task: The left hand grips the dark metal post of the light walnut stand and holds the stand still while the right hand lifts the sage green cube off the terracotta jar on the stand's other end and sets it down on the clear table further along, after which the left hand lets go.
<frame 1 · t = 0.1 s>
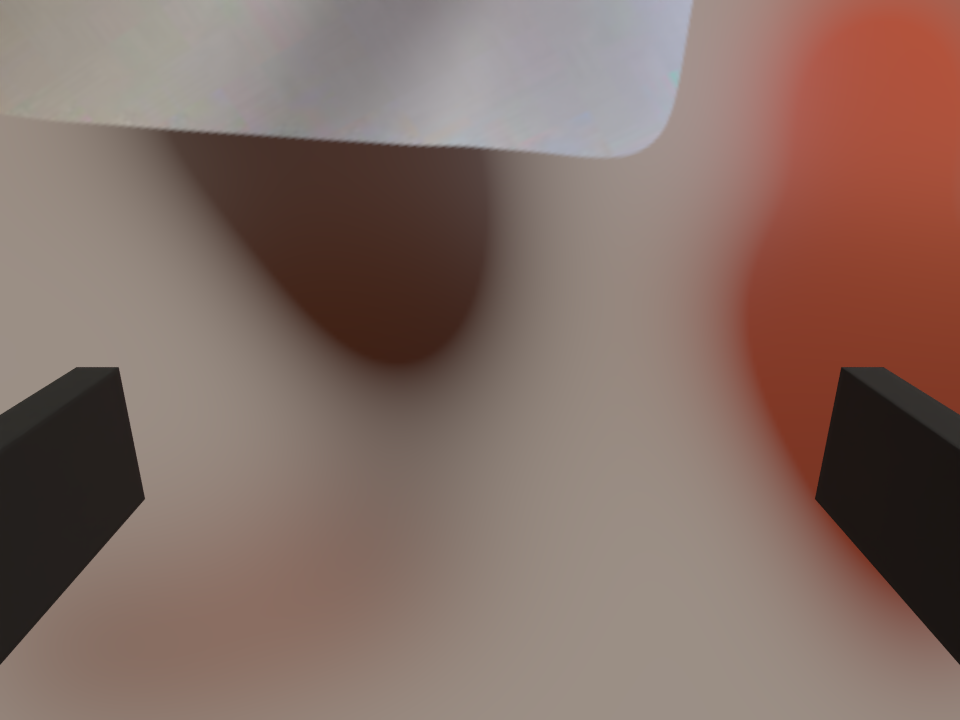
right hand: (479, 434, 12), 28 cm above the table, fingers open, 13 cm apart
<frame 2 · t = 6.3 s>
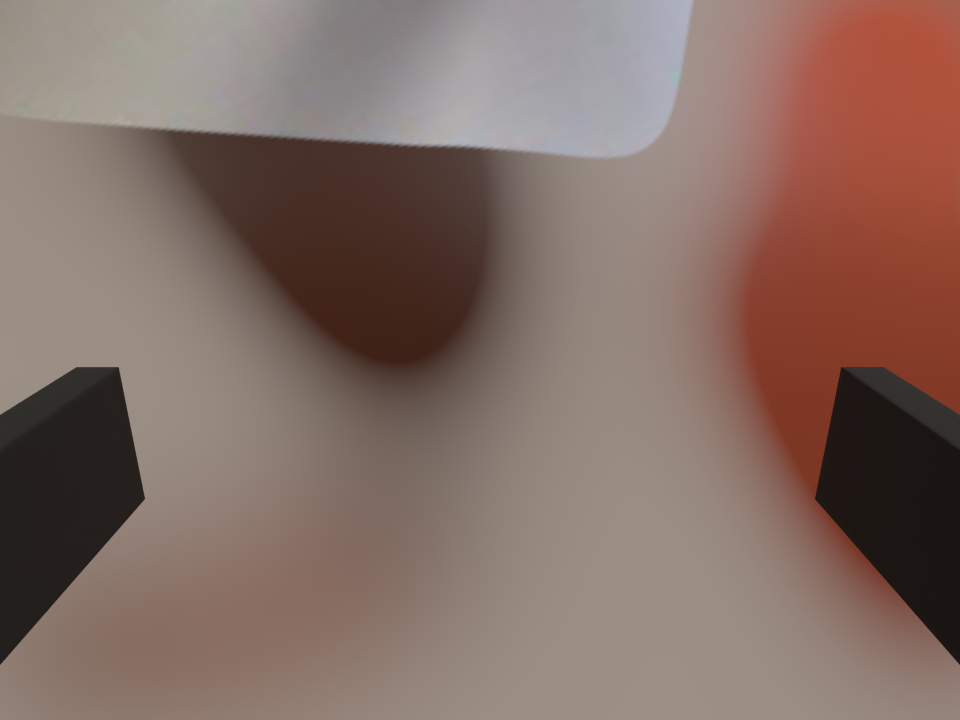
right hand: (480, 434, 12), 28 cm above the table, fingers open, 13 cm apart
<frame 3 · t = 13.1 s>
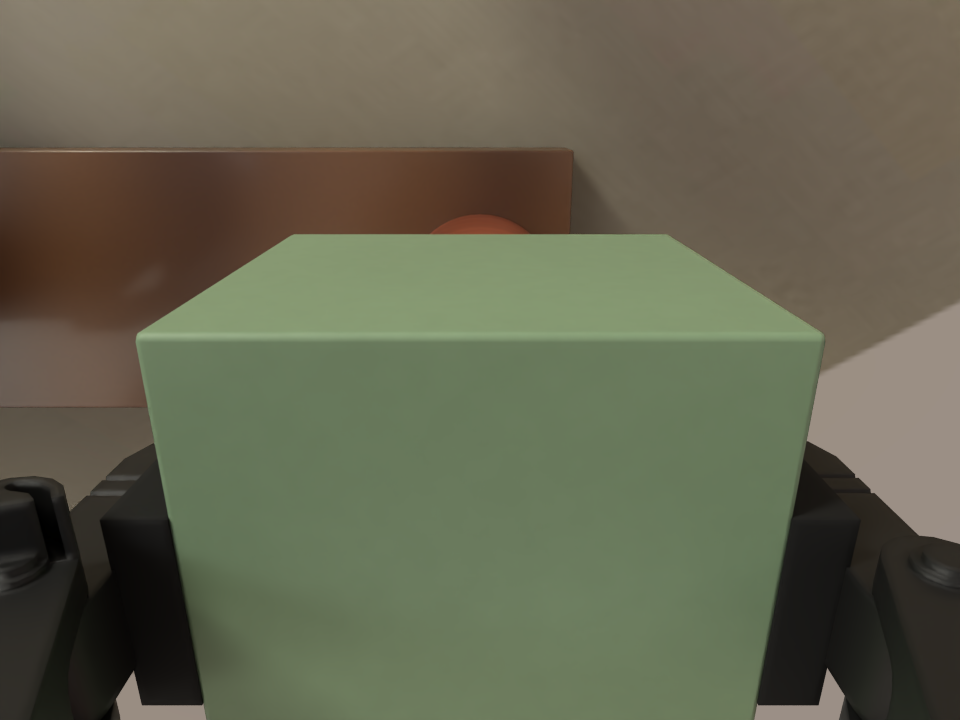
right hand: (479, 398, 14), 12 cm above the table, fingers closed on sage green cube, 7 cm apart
sage green cube: (480, 407, 13), point 12 cm above the table, touching right hand, stand
stand: (210, 274, 25), on the table, touching sage green cube, left hand
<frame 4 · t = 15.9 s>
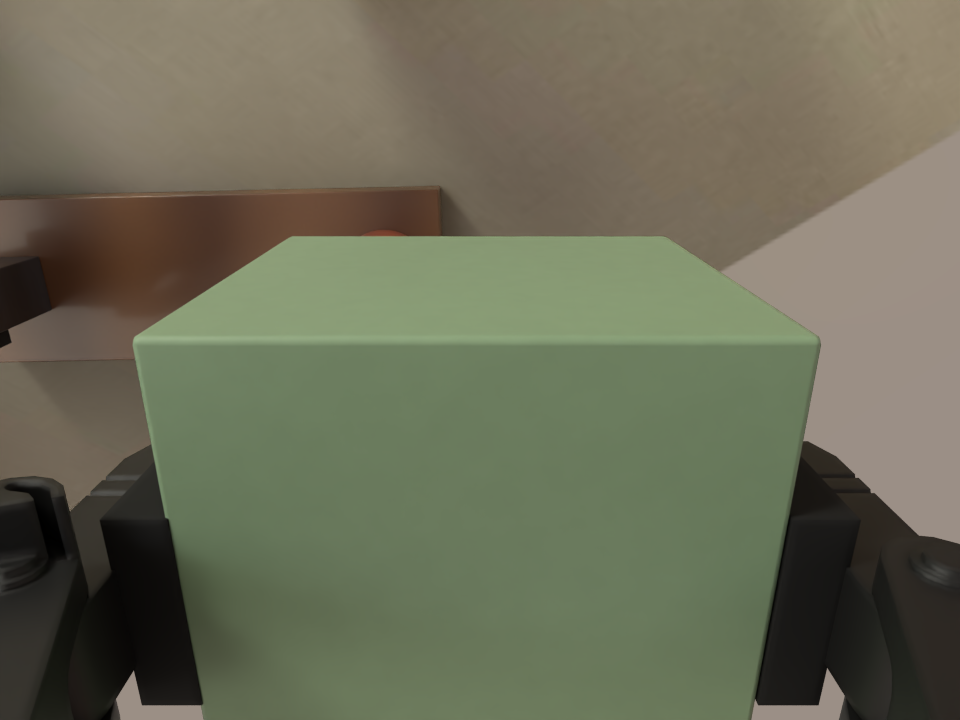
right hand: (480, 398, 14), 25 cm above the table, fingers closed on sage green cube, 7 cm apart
sage green cube: (478, 408, 14), point 25 cm above the table, touching right hand
stand: (215, 272, 38), on the table, touching left hand
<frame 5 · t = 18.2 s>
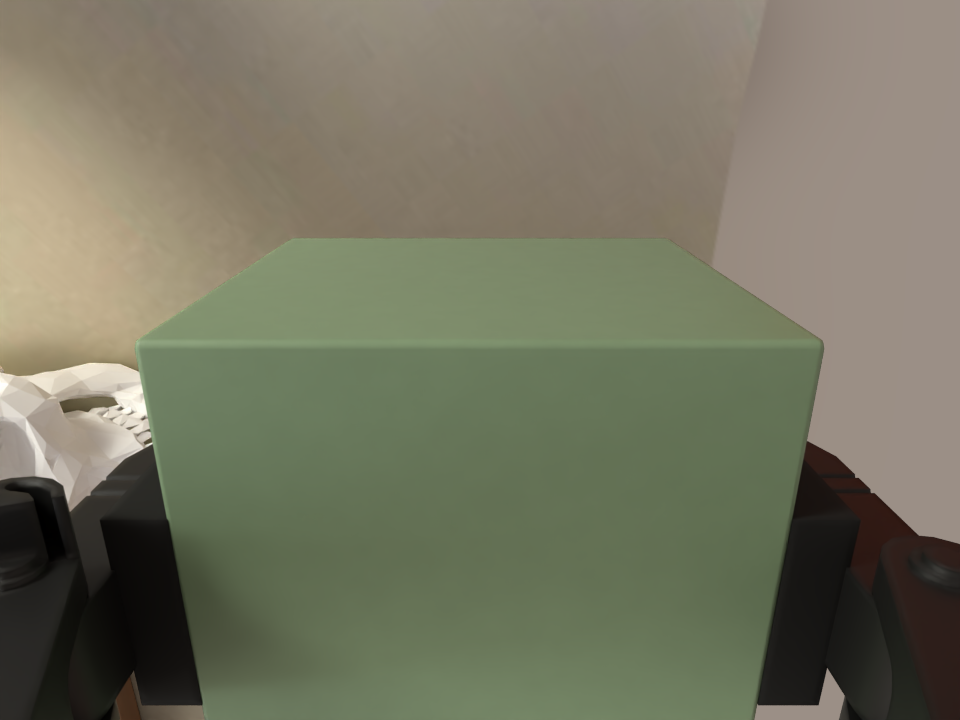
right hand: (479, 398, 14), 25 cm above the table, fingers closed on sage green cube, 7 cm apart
sage green cube: (479, 410, 13), point 25 cm above the table, touching right hand
skull: (66, 435, 42), on the table
when the right hand's fingers open (2 cm above the table, at t = 23.2 s): sage green cube drops 3 cm, on the table.
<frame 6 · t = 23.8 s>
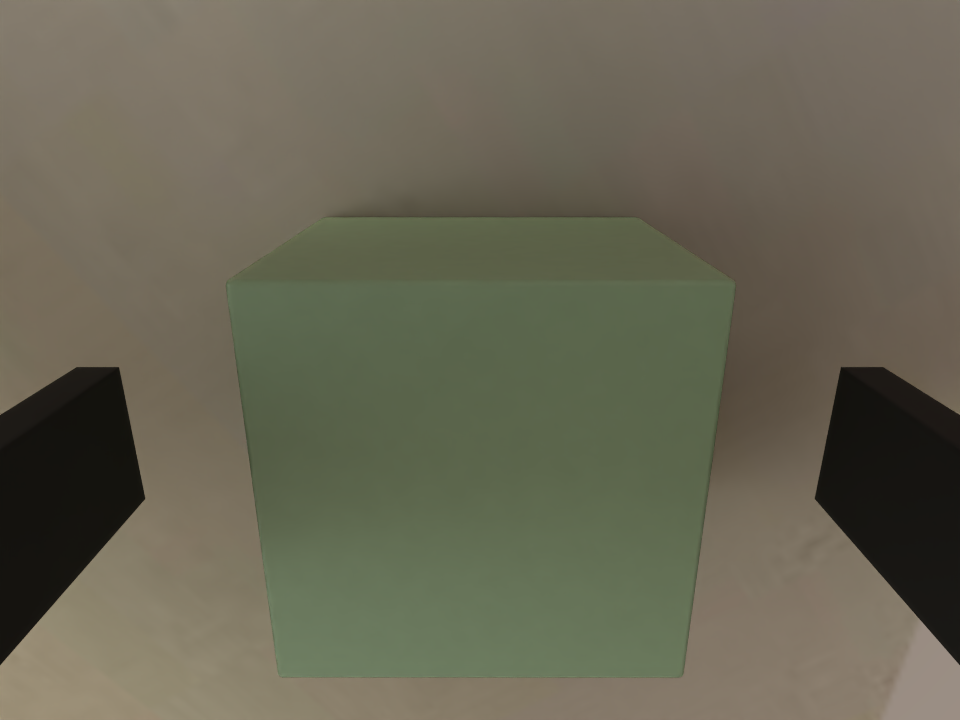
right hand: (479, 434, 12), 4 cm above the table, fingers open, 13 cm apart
sage green cube: (480, 365, 16), on the table
when the left hand's fingers open (6 cm above the table, at t = 25.7 s): stand stays where it is, on the table.
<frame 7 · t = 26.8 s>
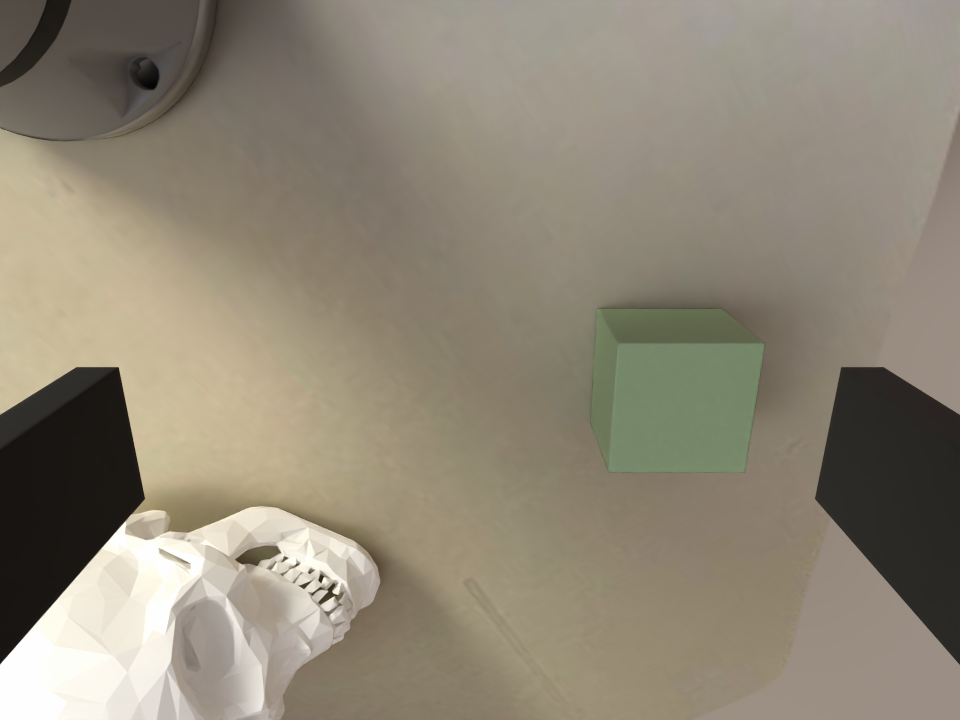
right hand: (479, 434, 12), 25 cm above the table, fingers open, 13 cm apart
sage green cube: (654, 367, 38), on the table
skull: (216, 569, 43), on the table
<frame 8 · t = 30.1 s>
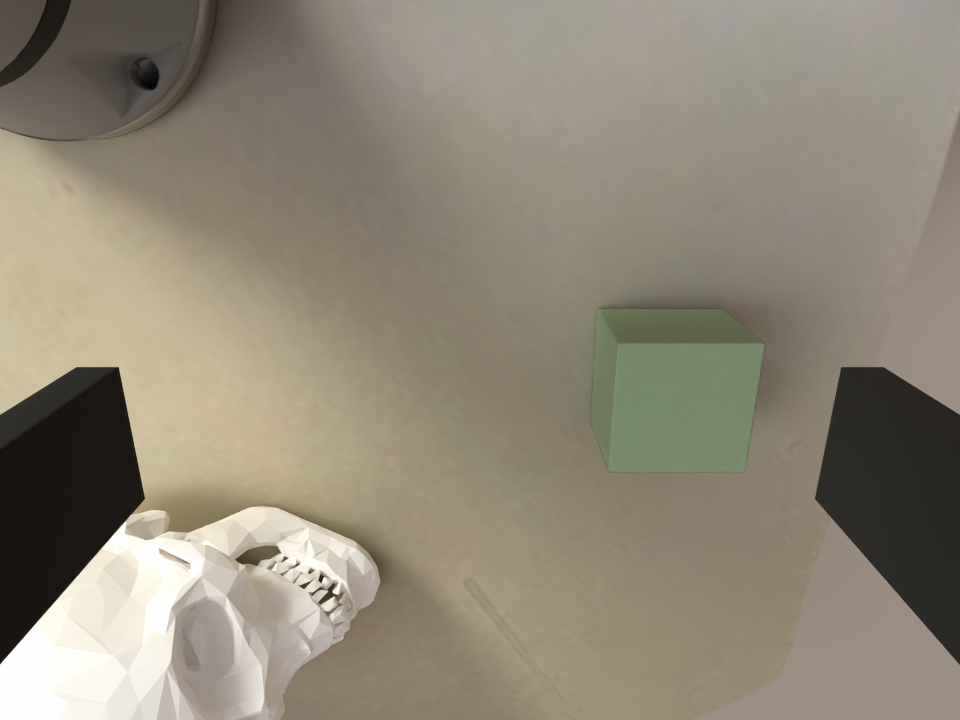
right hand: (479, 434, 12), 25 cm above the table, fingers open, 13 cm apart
sage green cube: (654, 367, 38), on the table
skull: (216, 569, 43), on the table
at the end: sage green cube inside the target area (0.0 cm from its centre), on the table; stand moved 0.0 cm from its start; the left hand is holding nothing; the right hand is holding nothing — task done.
